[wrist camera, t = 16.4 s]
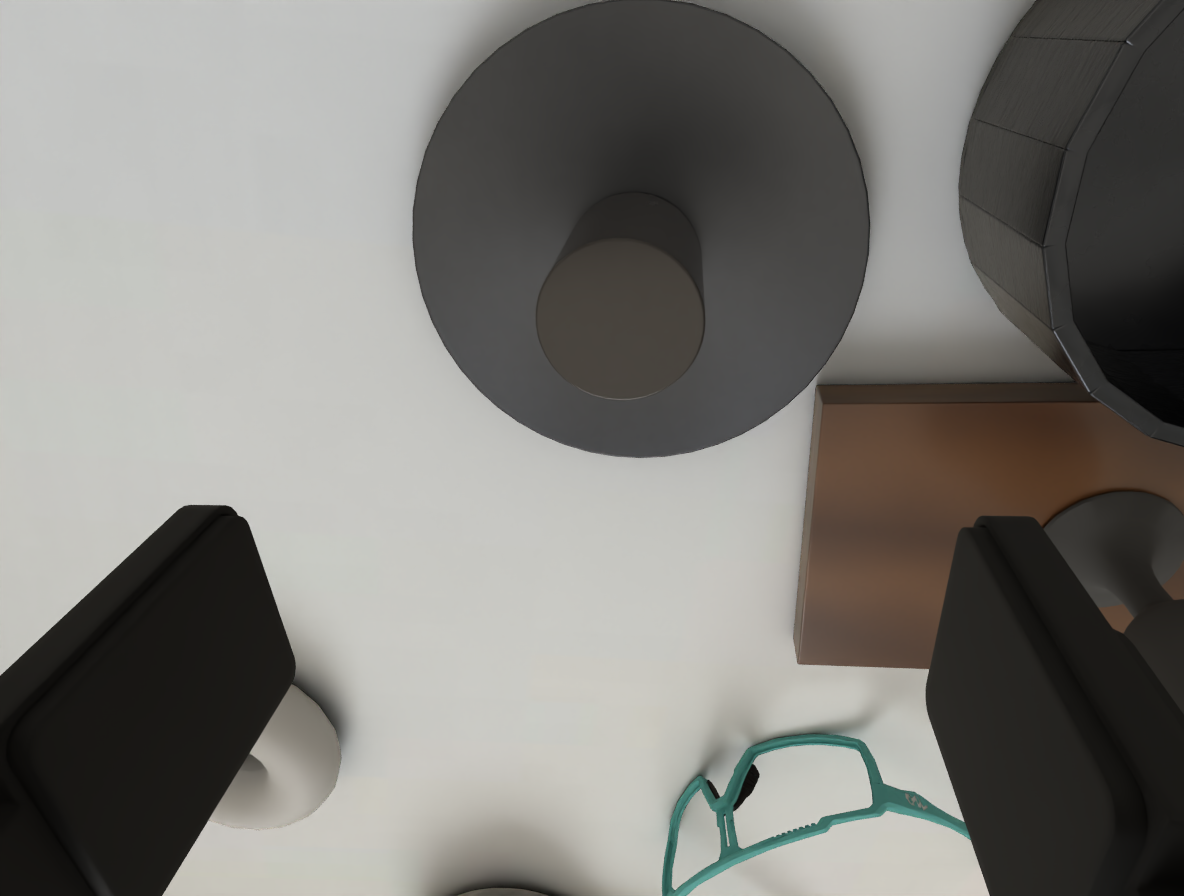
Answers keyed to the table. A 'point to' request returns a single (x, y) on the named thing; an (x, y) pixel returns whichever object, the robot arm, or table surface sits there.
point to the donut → (284, 769)
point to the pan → (1088, 198)
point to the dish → (501, 892)
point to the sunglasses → (743, 787)
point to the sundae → (1131, 570)
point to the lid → (641, 228)
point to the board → (945, 500)
